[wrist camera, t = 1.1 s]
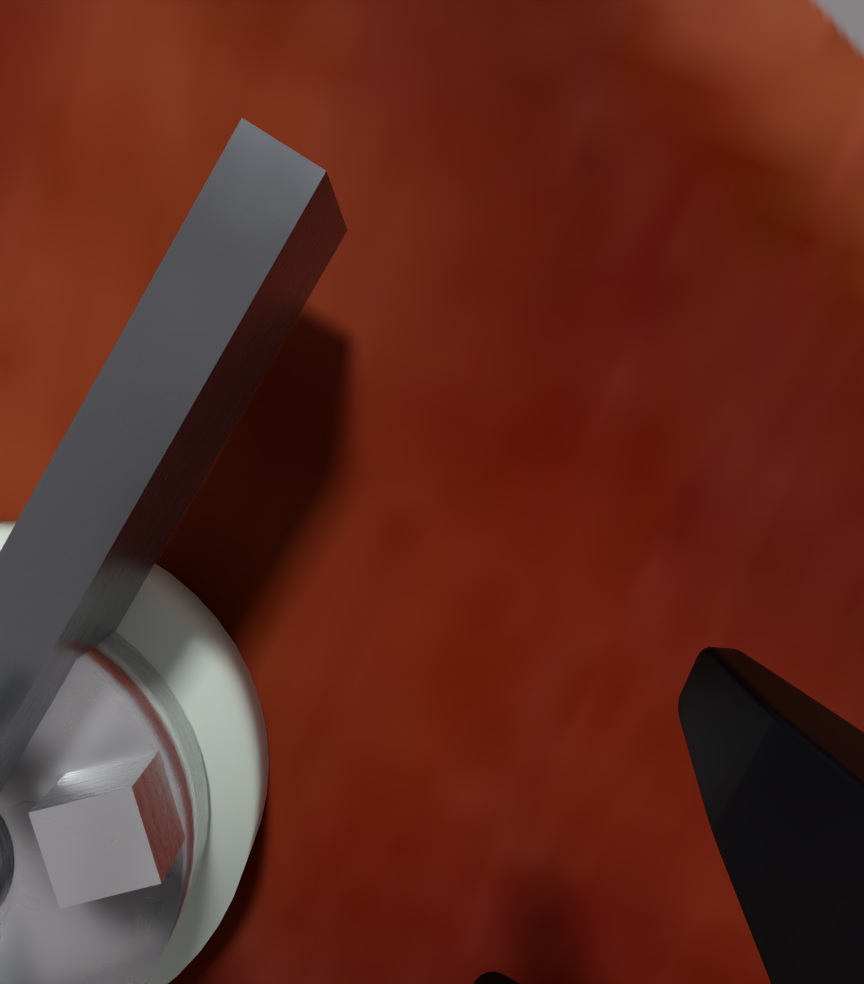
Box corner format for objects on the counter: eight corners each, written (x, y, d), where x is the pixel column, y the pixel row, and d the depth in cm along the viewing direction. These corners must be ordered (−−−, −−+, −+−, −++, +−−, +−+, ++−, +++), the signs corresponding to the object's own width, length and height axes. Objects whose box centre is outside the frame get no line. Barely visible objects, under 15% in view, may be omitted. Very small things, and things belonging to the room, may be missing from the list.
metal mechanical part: (527, 343, 17) (582, 309, 11) (70, 1092, 18) (-73, 1378, 13) (92, 70, 16) (-75, -107, 10) (-345, 885, 17) (-683, 1097, 12)
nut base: (358, 678, 20) (351, 711, 17) (123, 1061, 21) (89, 1138, 18) (-84, 426, 19) (-150, 428, 16) (-308, 843, 20) (-398, 896, 17)
